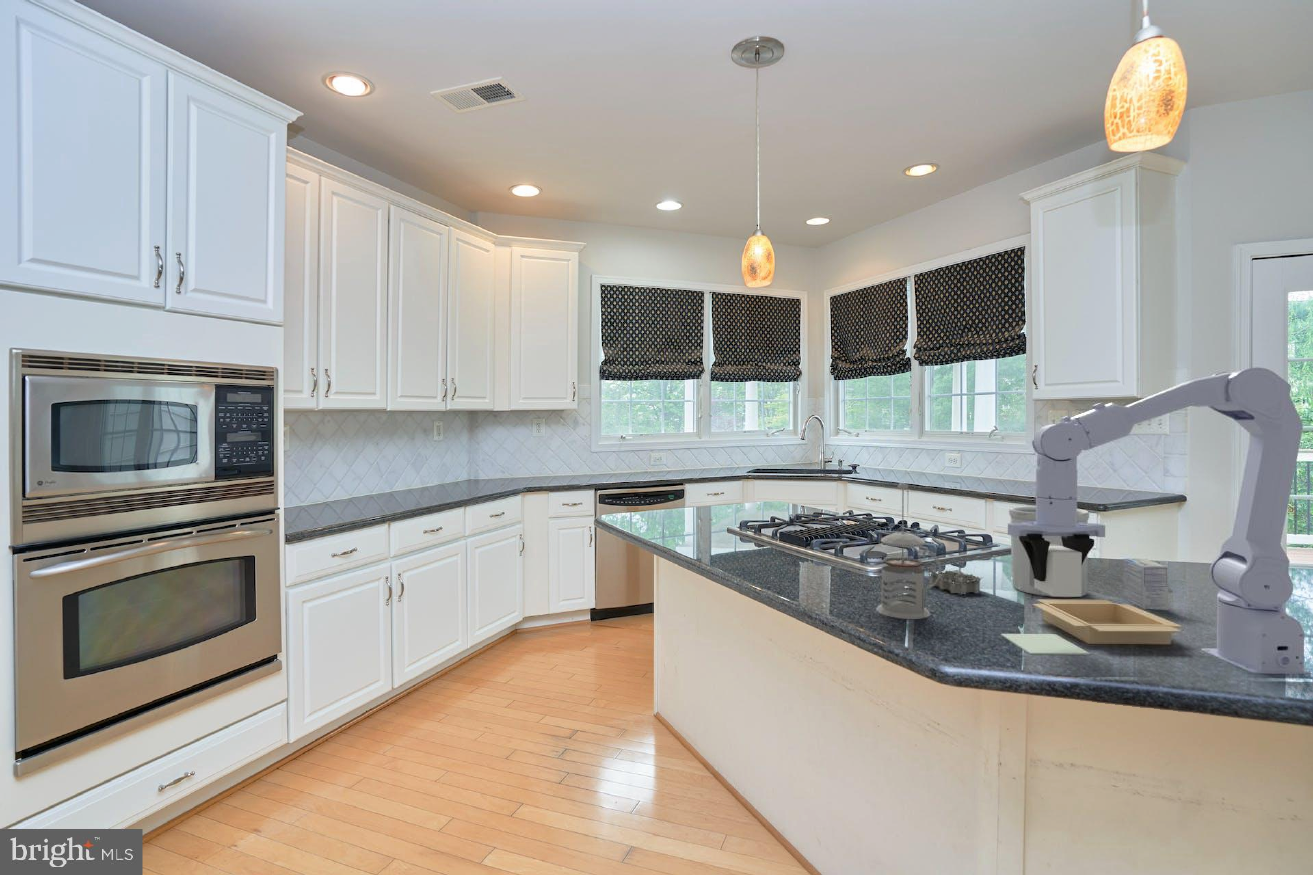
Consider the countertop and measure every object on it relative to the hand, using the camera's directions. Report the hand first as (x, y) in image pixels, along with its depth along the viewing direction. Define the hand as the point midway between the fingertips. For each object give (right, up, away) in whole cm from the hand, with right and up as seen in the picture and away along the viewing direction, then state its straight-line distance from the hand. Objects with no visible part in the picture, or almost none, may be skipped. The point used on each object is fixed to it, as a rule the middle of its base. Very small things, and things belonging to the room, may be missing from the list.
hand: (1055, 580), depth 104 cm
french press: (-17, -11, +18) cm, 27 cm away
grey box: (0, -2, 0) cm, 2 cm away
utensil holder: (+20, -10, +34) cm, 41 cm away
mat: (-3, -11, -1) cm, 11 cm away
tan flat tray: (+12, -10, +5) cm, 16 cm away
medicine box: (+31, -10, +22) cm, 39 cm away
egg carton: (0, -10, +36) cm, 38 cm away
